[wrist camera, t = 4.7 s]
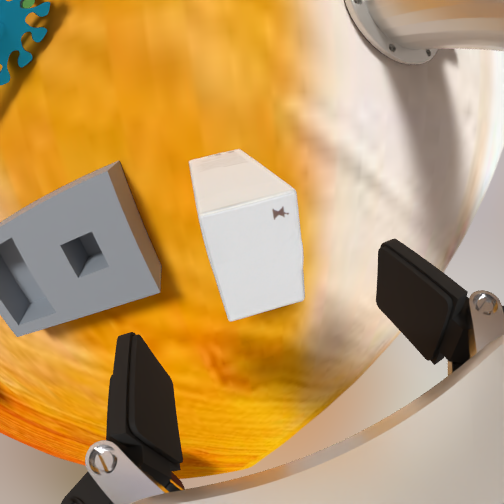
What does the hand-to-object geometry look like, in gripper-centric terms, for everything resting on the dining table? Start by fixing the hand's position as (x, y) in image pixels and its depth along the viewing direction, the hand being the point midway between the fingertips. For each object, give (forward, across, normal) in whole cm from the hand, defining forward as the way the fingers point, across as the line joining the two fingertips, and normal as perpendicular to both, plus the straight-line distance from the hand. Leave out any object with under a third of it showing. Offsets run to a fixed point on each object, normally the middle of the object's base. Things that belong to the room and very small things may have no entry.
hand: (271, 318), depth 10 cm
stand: (+15, +15, -1) cm, 21 cm away
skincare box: (+15, -1, -1) cm, 15 cm away
